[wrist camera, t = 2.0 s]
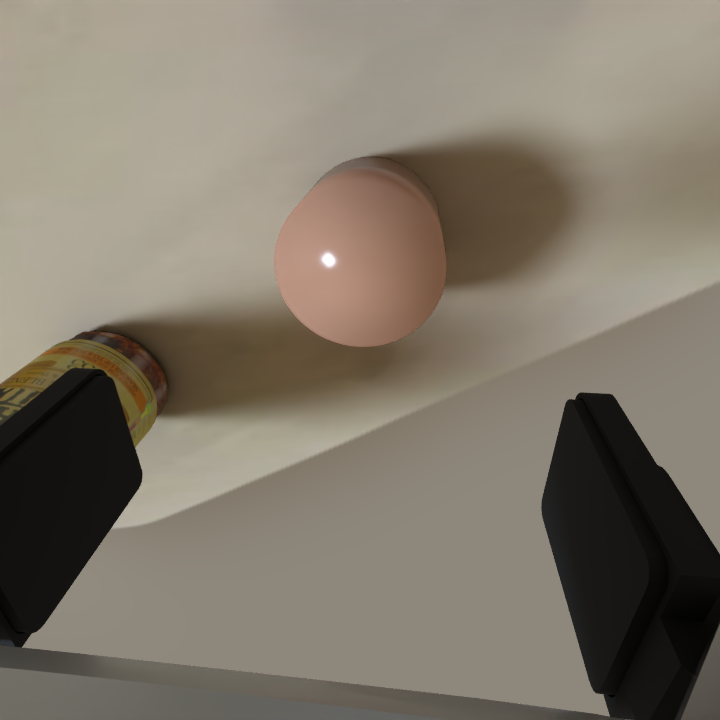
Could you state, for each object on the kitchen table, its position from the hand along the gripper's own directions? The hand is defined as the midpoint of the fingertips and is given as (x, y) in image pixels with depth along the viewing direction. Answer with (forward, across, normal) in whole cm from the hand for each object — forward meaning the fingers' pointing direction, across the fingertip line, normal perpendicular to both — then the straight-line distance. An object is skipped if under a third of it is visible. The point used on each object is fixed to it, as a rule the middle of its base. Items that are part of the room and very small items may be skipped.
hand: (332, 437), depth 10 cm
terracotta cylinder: (+13, 0, -1) cm, 13 cm away
